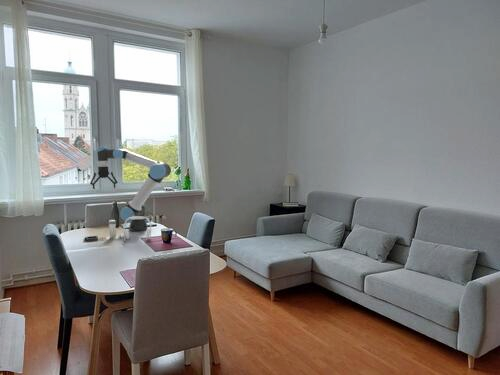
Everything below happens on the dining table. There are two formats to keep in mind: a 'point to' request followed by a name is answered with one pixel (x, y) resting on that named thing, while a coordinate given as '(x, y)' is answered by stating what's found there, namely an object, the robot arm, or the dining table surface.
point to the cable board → (95, 238)
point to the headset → (126, 232)
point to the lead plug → (112, 228)
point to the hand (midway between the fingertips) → (104, 192)
